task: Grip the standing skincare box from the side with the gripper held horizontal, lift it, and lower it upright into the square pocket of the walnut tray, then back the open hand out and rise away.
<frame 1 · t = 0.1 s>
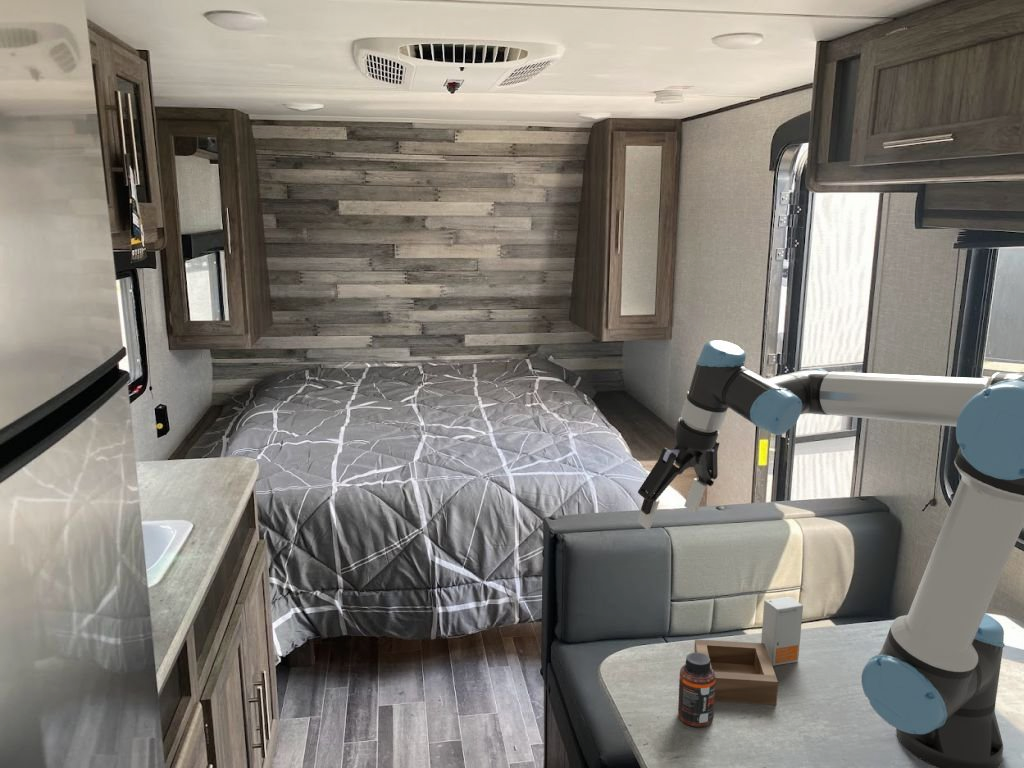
hand: (667, 517, 152), 28 cm above the table, fingers open, 13 cm apart
supplement bottle: (695, 719, 135), on the table
skincare box: (779, 660, 153), on the table
walnut tray: (733, 681, 146), on the table
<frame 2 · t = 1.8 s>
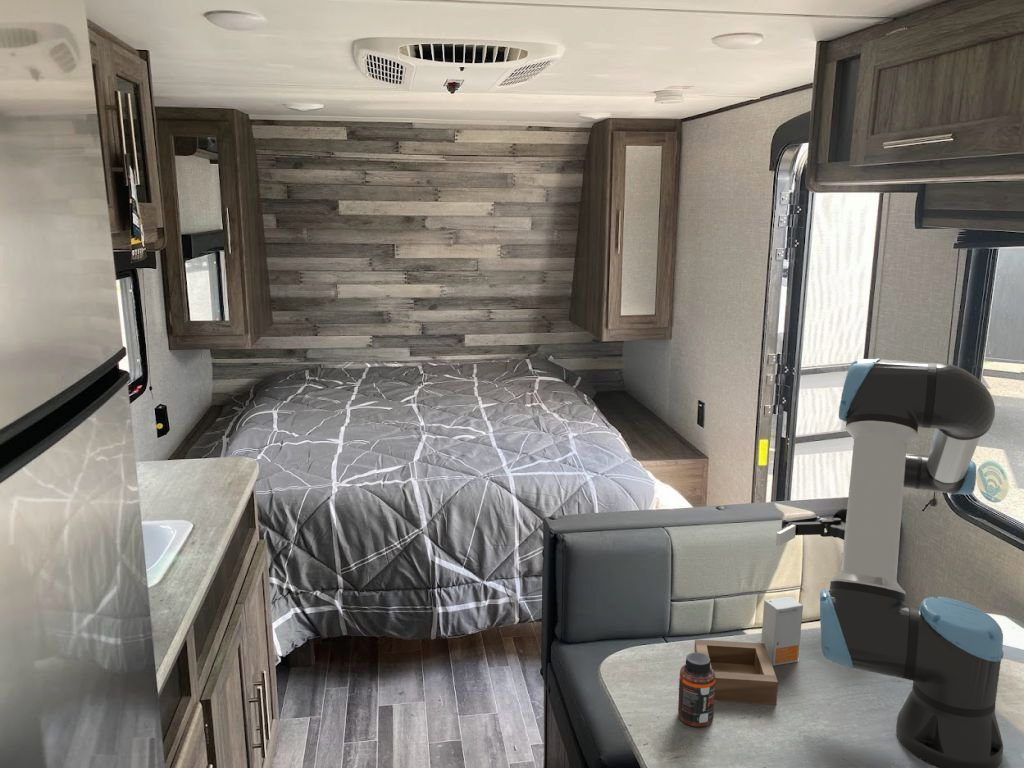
hand: (809, 549, 156), 20 cm above the table, fingers open, 13 cm apart
nothing on the table moved.
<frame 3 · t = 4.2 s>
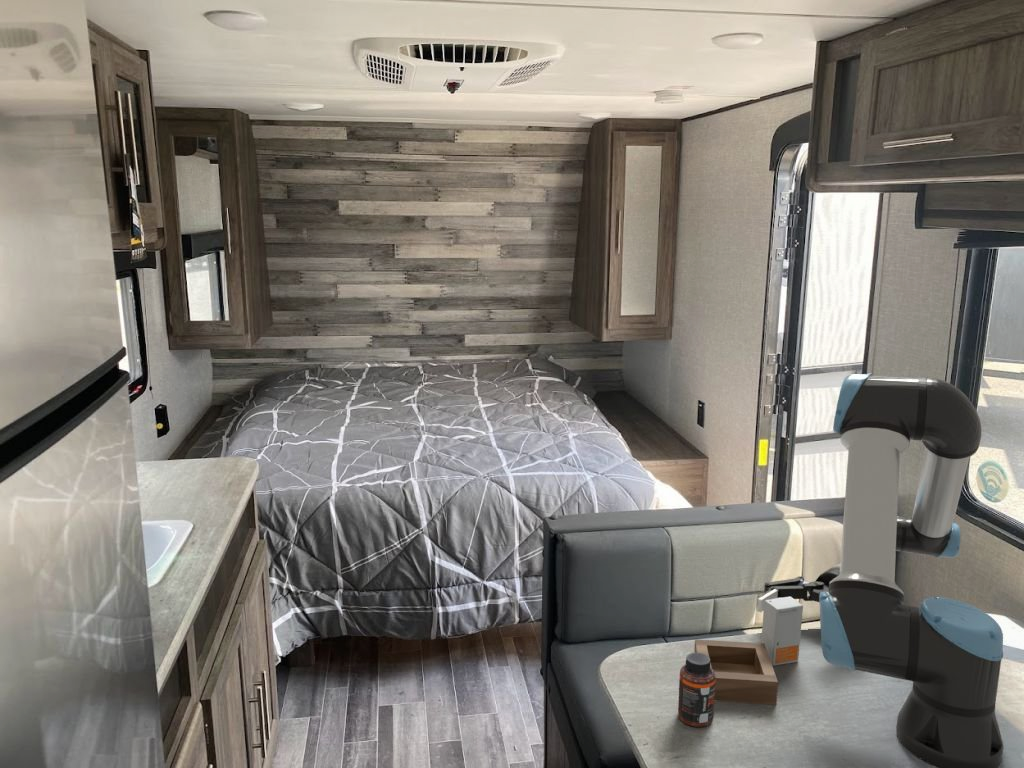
hand: (790, 617, 155), 7 cm above the table, fingers open, 13 cm apart
nothing on the table moved.
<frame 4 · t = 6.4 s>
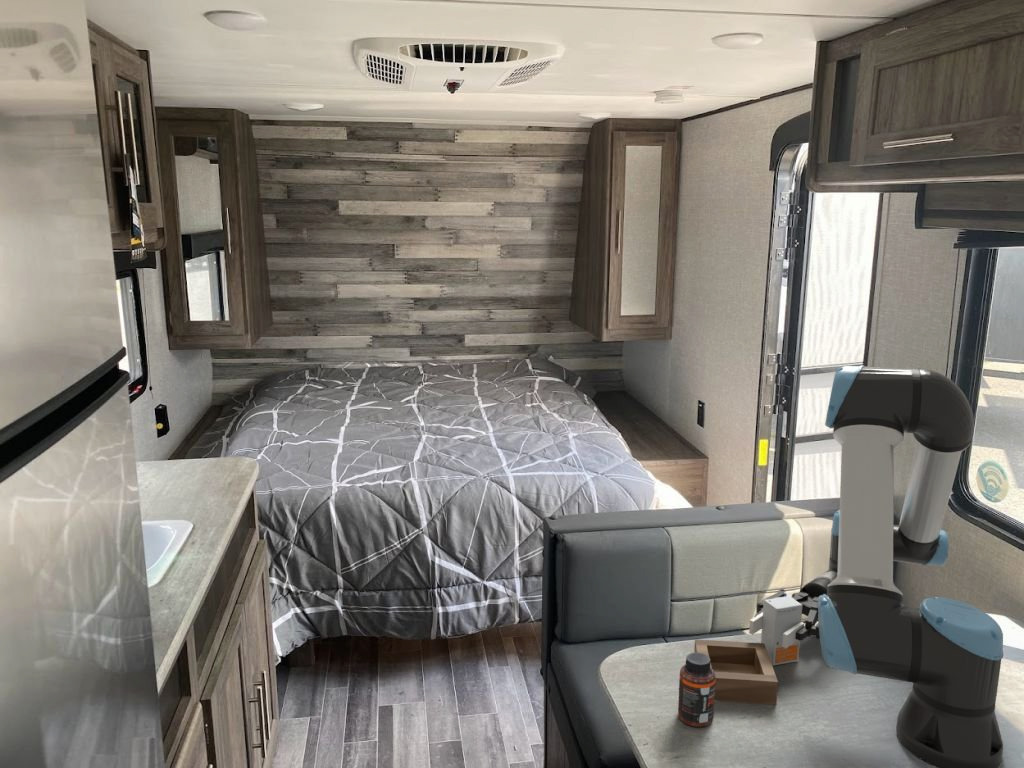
hand: (767, 634, 148), 7 cm above the table, fingers closed on skincare box, 6 cm apart
skincare box: (779, 659, 153), on the table, touching gripper
everything else where it was.
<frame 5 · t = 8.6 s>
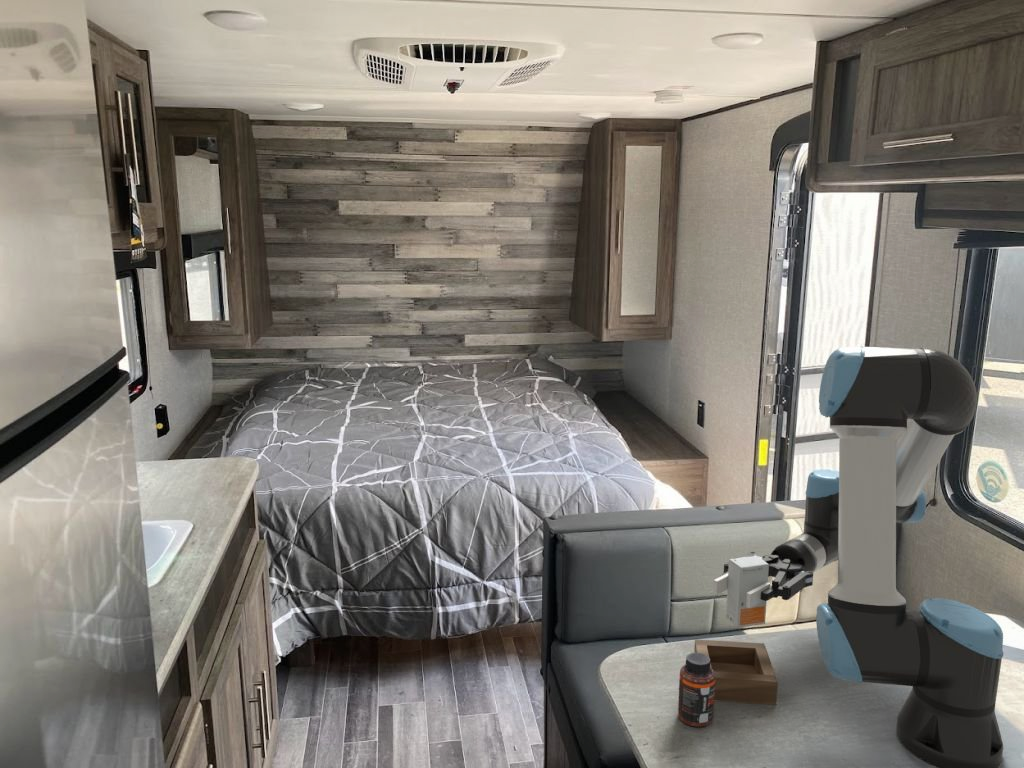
hand: (731, 593, 141), 18 cm above the table, fingers closed on skincare box, 6 cm apart
skincare box: (745, 622, 146), point 10 cm above the table, touching gripper
everything else where it was.
when the fingers open (10 cm above the table, at t = 11.2 s): skincare box drops 1 cm, resting on walnut tray.
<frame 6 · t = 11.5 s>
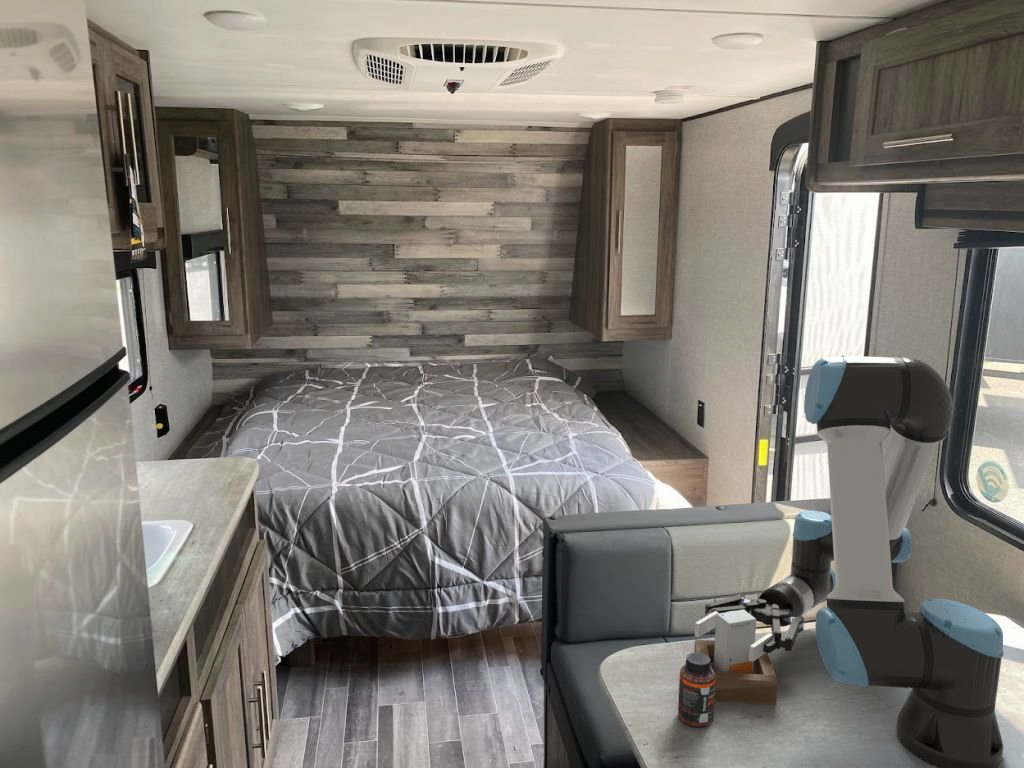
hand: (723, 641, 141), 10 cm above the table, fingers open, 10 cm apart
skincare box: (733, 677, 145), point 1 cm above the table, touching walnut tray
everything else where it was.
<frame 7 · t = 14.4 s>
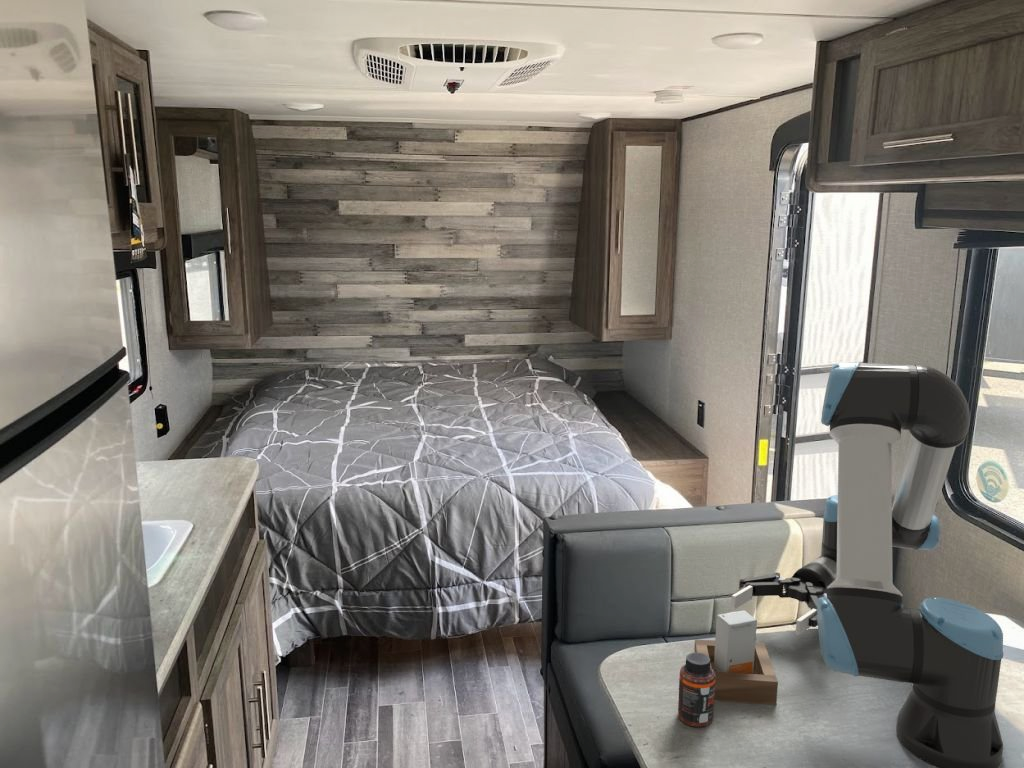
hand: (764, 614, 150), 10 cm above the table, fingers open, 13 cm apart
nothing on the table moved.
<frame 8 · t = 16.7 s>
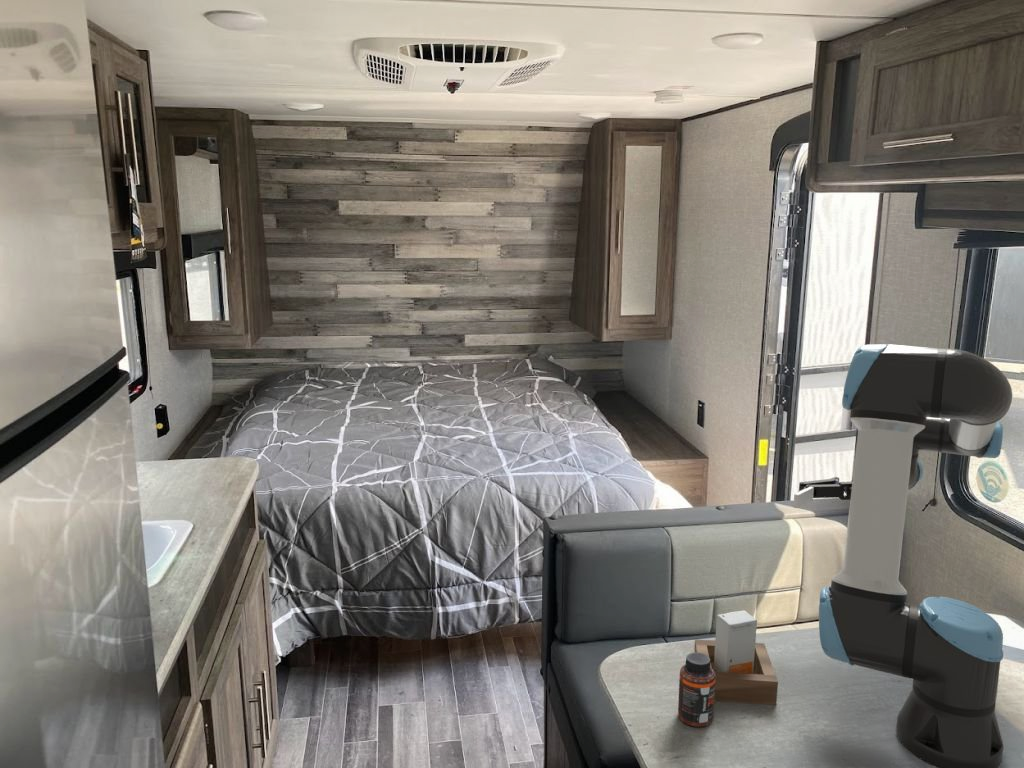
hand: (829, 510, 148), 30 cm above the table, fingers open, 13 cm apart
nothing on the table moved.
at the end: skincare box 0.1 cm off-centre on the walnut tray, point 0.8 cm above the walnut tray's base; skincare box tilted 0°; the gripper is holding nothing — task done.
